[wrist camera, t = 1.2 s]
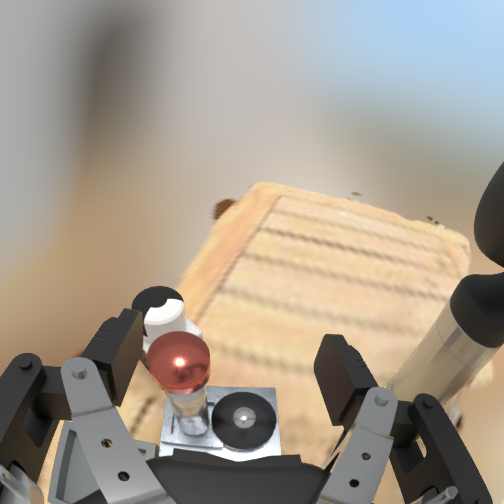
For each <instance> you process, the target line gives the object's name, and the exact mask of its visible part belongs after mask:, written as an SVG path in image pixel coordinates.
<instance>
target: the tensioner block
mask: <svg viewBox="0 0 504 504" xmlns="http://www.w3.org/2000/svg"><path fill="white" fill-rule="evenodd" d="M206 392H207V401H208V409H209V417H210V425H209V428H208V429H207V430H206V431H205V432H204V433H202V434H200V435H190V434H187V433H185V432H184V431H183V430H182V429H181V428H180V426H179V424H178V422H177V419H176V417H175V415H174V412H173V410H172V408H171V405H170V403H169V400H168V398H167V397H166V404H165V411H164V418H163V425H162V433H161V443H160V451H159V456H167V455H172V454H173V448H179V449H185V450H192V451H200V452H207V453H210V454H213V455H216V456H220V457H223V458H227V459H231V460H234V461H245V460H250V459H256V458H261V457H265V456H270V455H281V448H280V436H279V425H278V413H277V402H276V391H275V388H244V387H218V386H206Z"/></svg>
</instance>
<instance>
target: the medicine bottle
mask: <svg viewBox="0 0 504 504" xmlns="http://www.w3.org/2000/svg"><path fill="white" fill-rule="evenodd" d="M132 310H137V311H141V312H142V317H143V349H142V353H141V356H140V358H139V359H140V360H141V361H142V363H143V364H144V365H145V367H146V368H147V369H148V370H149V372H150V373H151V371H150V368H149V366H148V363H147V352H148V349H149V347H150V345H151V344H152V342H153V341H154V340H155V339H157V338H158V337H159V336H161V335H163V334H166V333H169V332H173V331H184V332H189V333H192V334H194V335H196V336H198V337H200V338H201V339H202V332H201V331H200V330H199V329H198V328H197V327H196V326H195V325H194V324H193V323H192V322H191V321H190V320H189V319H188V318H187V317H185V309H184V301H183V298H182V296H181V295H180V294H179V293H178V292H177V291H175V290H173V289H171V288H169V287H164V286H155V287H150V288H147V289H145V290H143V291H142V292H140V293H139V294H138V295H137V296H136V297H135V299H134V300H133V303H132ZM151 374H152V373H151Z"/></svg>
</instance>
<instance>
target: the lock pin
mask: <svg viewBox="0 0 504 504" xmlns="http://www.w3.org/2000/svg"><path fill="white" fill-rule="evenodd" d="M147 363H148V366H149V368H150V371H151V373H152V376H153V378H154V380H155V382H156V384H157V385H158V386H159V387H160V388H161V389H162V390H164V391H165V393H166V395H167V398H168V400H169V403H170V405H171V408H172V410H173V412H174V415H175V417H176V419H177V422H178V424H179V426H180V428H181V429H182V430H183V431H184V432H185V433H187V434H190V435H200V434H202V433H204V432H205V431H206V430H207V429H208V428H209V425H210V417H209V409H208V401H207V392H206V383H207V382H208V380H209V377H210V372H211V368H210V353H209V349H208V347H207V345H206V343H205V342H204V341H203V340H202V339H201V338H200V337H198V336H196V335H194V334H192V333H189V332H184V331H173V332H169V333H166V334H163V335H161V336H159V337H158V338H157V339H155V340H154V341H153V342H152V344H151V345H150V347H149V349H148V352H147Z"/></svg>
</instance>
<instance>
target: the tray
mask: <svg viewBox="0 0 504 504" xmlns="http://www.w3.org/2000/svg"><path fill="white" fill-rule="evenodd" d="M132 440H133V441H134V443H135V445H136V447H137V448H138V450H139V452H140V453H141V455H142V457H143V458H144V460H145V461H146V460H148V459H151V458H155V457H159V451H160V448H159V447H158V446H157V444H155V443H149V442H144V441H139V440H134V439H132ZM98 489H100V487H99V485H98V483H97V481H96V479H95V477H94V475H93V472H92V470H91V468H90V466H89V464H88V461H87V459H86V456H85V454H84V451H83V449H82V446H81V444H80V441H79V438H78V436H77V433H76V430H75V427H74V424H73V423H72V422H69V421H66V420H64V424H63V428H62V431H61V435H60V439H59V443H58V447H57V452H56V456H55V461H54V466H53V471H52V476H51V482H50V488H49V494H48V502H50V503H52V504H73V503H75V502H76V501H78V500H80V499H82V498H84V497H86V496H87V495H89V494H91V493H93V492H94V491H96V490H98Z"/></svg>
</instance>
